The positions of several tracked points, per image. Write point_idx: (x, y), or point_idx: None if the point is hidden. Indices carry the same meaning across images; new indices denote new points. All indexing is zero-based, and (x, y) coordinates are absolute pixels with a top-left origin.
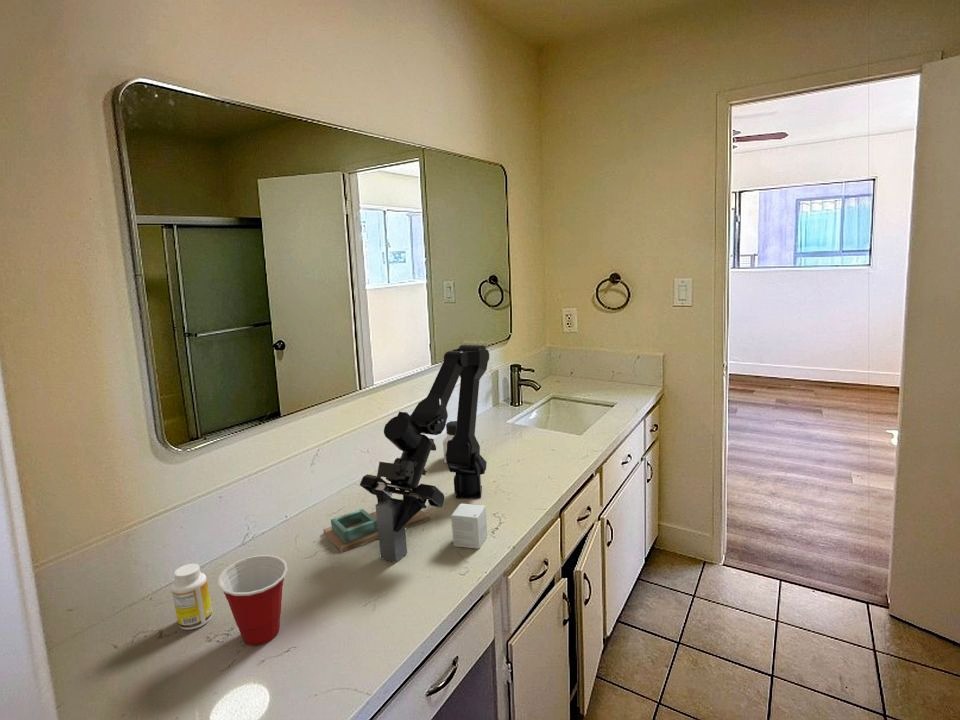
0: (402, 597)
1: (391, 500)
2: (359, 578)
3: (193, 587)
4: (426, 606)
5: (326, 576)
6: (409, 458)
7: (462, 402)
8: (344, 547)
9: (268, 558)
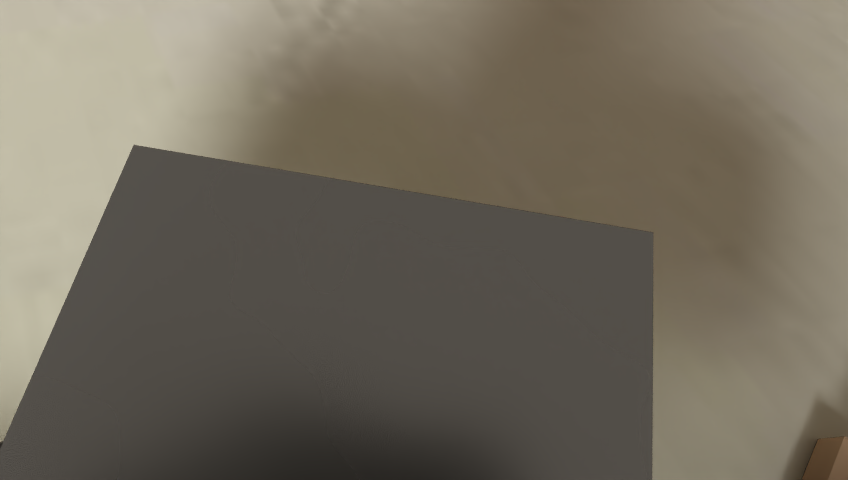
0: (156, 78)
1: None
2: (484, 178)
3: None
4: (4, 41)
5: (689, 159)
6: None
7: None
8: (832, 456)
9: None
